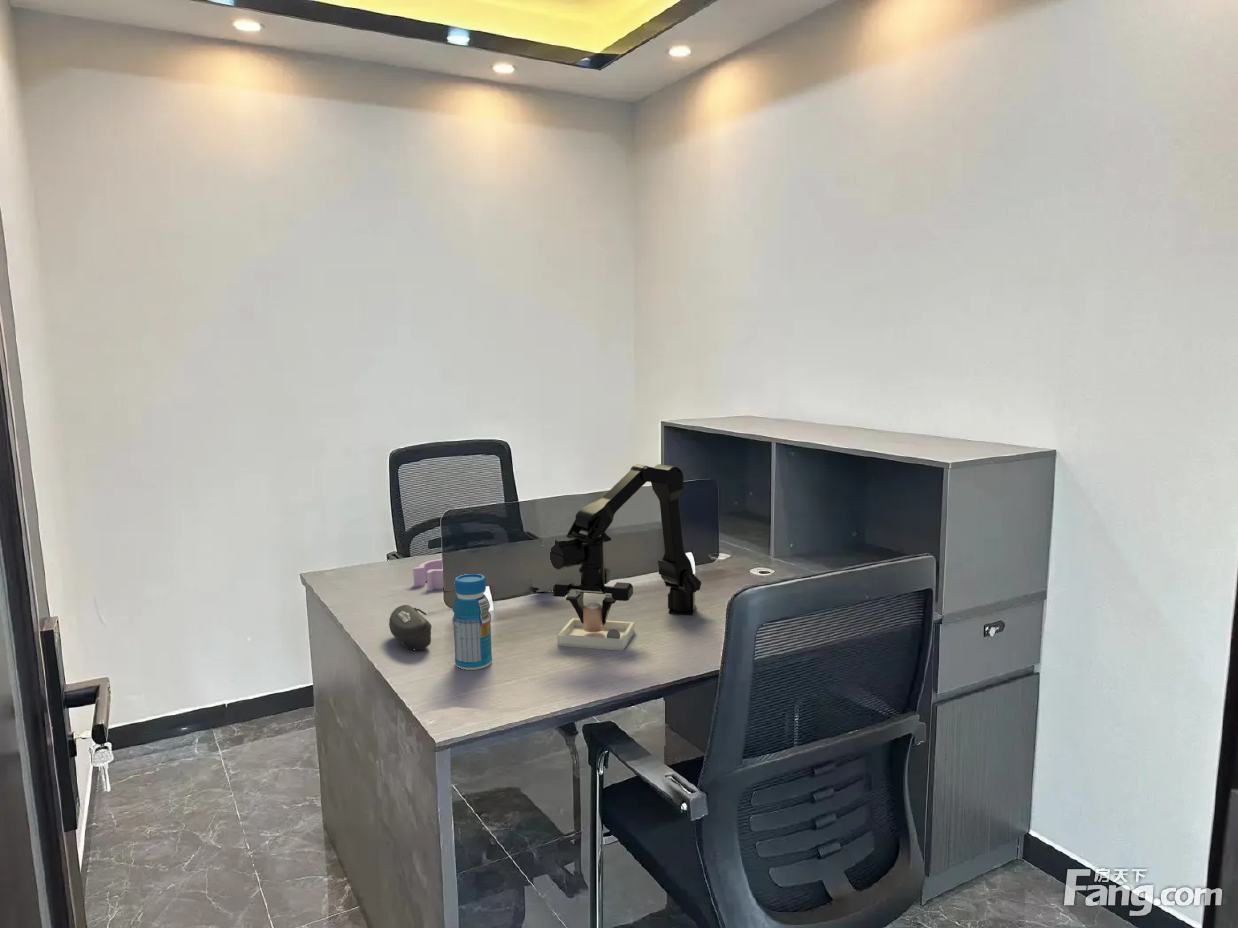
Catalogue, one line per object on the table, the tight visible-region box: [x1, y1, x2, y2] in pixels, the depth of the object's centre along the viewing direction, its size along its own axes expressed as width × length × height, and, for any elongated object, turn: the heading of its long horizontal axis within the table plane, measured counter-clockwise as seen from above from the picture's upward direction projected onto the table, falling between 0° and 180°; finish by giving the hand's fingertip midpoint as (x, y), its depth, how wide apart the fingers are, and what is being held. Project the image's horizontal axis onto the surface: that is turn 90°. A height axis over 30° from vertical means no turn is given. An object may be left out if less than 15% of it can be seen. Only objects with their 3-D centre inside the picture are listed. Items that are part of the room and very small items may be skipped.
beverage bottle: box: [451, 573, 493, 671], centre depth 174 cm, size 8×8×20 cm
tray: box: [556, 617, 635, 651], centre depth 189 cm, size 16×12×2 cm
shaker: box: [583, 602, 604, 632], centre depth 190 cm, size 5×5×6 cm
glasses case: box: [388, 604, 432, 651], centre depth 188 cm, size 18×10×8 cm, turn 31°
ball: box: [607, 629, 620, 639], centre depth 185 cm, size 3×3×3 cm
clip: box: [412, 558, 443, 592], centre depth 234 cm, size 20×12×7 cm, turn 140°
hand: (593, 623), depth 190 cm, fingers closed on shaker, 5 cm apart
